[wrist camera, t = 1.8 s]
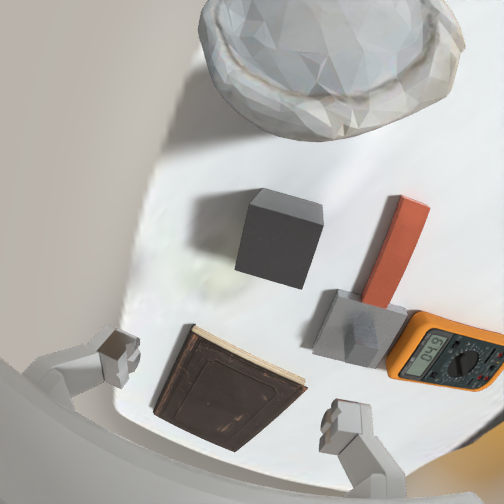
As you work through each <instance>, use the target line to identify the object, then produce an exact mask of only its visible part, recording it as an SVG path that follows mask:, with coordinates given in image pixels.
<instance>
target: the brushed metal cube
mask: <svg viewBox="0 0 504 504" xmlns="http://www.w3.org/2000/svg"><path fill="white" fill-rule="evenodd" d="M323 226H324V222H323V207H322V205H321V204H318V203H315V202H311V201H308V200H305V199H301V198H298V197H294V196H291V195H287V194H283V193H280V192H276V191H273V190H269V189H265V188H262V190H261V191H260V192H259V193H258V194H257V195H256V197H255V198H254V199H253V200H252V201H251V203H250V204H249V207H248V212H247V216H246V220H245V225H244V229H243V234H242V238H241V243H240V247H239V252H238V256H237V261H236V265H235V270H236V271H240V272H243V273H246V274H250V275H253V276H256V277H260V278H263V279H267V280H270V281H273V282H277V283H280V284H284V285H287V286H291V287H294V288H297V289H301V290H302V288H303V285H304V282H305V279H306V277H307V274H308V271H309V268H310V265H311V262H312V259H313V256H314V253H315V250H316V247H317V244H318V241H319V238H320V235H321V232H322V229H323Z"/></svg>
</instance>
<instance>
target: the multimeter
mask: <svg viewBox="0 0 504 504" xmlns="http://www.w3.org/2000/svg"><path fill="white" fill-rule="evenodd" d="M386 368H387V373H388V376H389V377H390V378H392V379H397V380H403V381H410V382H417V383H423V384H429V385H435V386H442V387H448V388H454V389H460V390H466V391H472V392H477V391H481V390H483V389H485V388H487V387H488V386H490V385H491V384H492V383H493V382H494V381H495V380H496V378H497V377H498V376H499V375H500V373H501V372H502V371H503V370H504V335H503V334H499V333H495V332H490V331H486V330H482V329H478V328H475V327H471V326H468V325H464V324H461V323H457V322H454V321H451V320H448V319H445V318H442V317H439V316H436V315H433V314H430V313H427V312H417V313H416V314H414V315H413V317H412V318H411V319H410V321H409V323H408V324H407V326H406V328H405V329H404V331H403V333H402V334H401V336H400V338H399V339H398V341H397V342H396V344H395V346H394V347H393V349H392V350H391V352H390V353H389V355H388V356H387V359H386Z"/></svg>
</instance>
